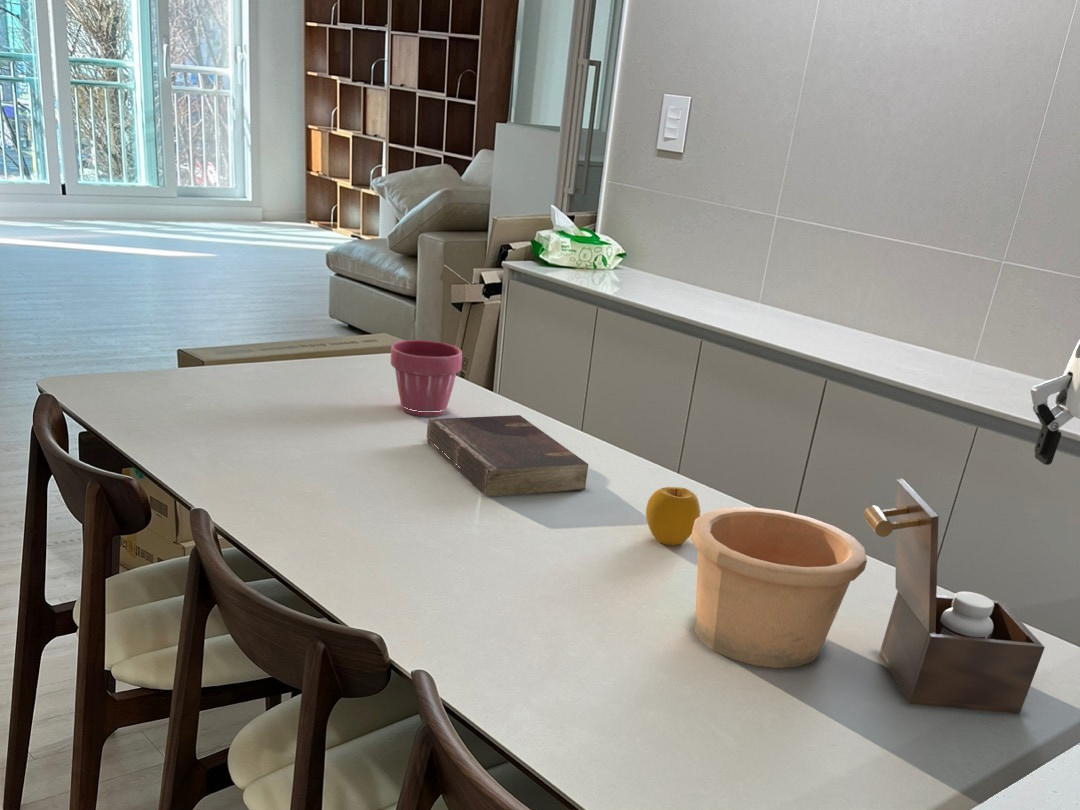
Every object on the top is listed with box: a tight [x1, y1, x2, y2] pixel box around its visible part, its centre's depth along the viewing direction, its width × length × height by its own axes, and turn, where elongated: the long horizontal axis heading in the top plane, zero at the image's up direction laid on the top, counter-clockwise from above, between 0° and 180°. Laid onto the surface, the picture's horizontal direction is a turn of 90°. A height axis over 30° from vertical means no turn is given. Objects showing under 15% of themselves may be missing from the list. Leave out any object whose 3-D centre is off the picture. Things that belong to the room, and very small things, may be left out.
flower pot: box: [390, 339, 463, 418], centre depth 215 cm, size 14×14×13 cm
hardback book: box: [426, 414, 589, 497], centre depth 190 cm, size 29×19×5 cm, turn 25°
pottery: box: [690, 506, 868, 669], centre depth 137 cm, size 22×22×14 cm
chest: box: [878, 591, 1046, 715], centre depth 132 cm, size 14×13×9 cm
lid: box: [863, 478, 939, 633], centre depth 126 cm, size 15×13×6 cm
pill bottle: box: [936, 591, 994, 639], centre depth 131 cm, size 6×6×11 cm
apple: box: [645, 486, 701, 547], centre depth 166 cm, size 8×8×9 cm
